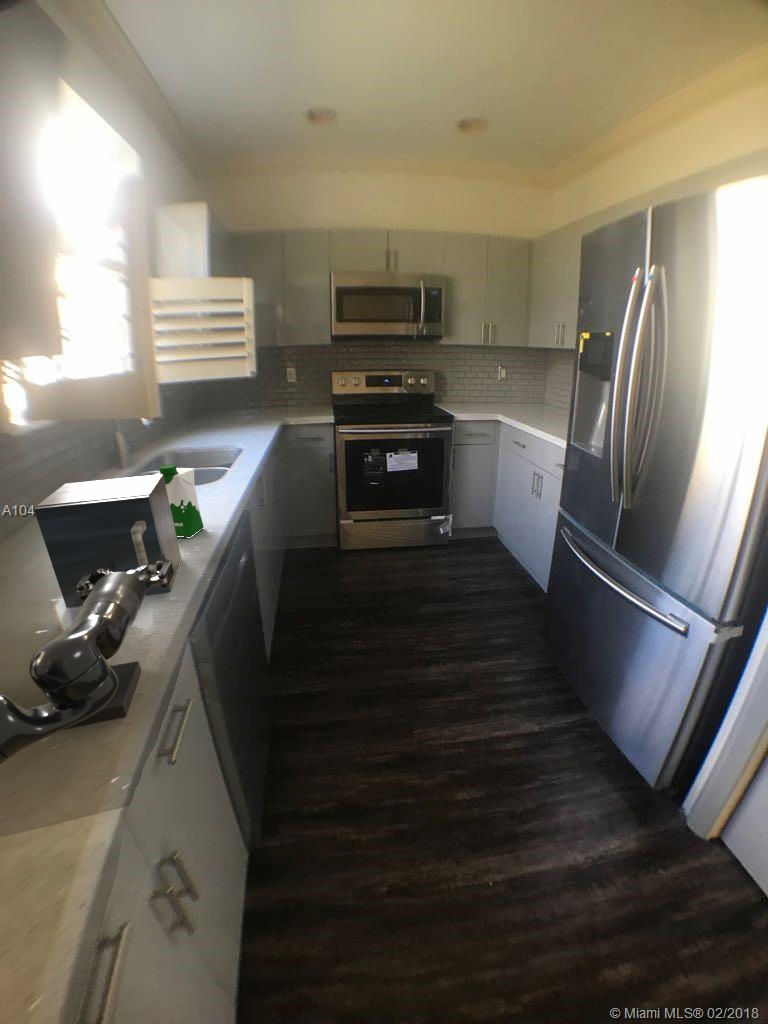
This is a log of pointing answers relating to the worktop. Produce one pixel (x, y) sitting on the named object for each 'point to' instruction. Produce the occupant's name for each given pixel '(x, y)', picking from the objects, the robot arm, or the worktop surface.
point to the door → (99, 539)
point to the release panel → (117, 695)
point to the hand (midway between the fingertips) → (137, 560)
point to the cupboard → (126, 489)
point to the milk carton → (182, 499)
